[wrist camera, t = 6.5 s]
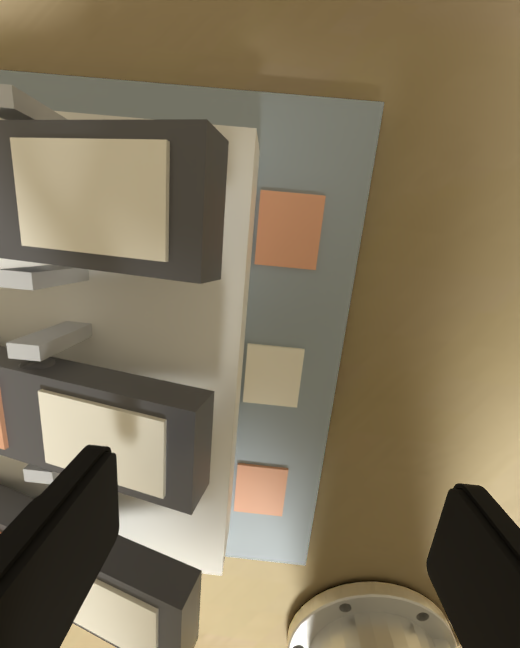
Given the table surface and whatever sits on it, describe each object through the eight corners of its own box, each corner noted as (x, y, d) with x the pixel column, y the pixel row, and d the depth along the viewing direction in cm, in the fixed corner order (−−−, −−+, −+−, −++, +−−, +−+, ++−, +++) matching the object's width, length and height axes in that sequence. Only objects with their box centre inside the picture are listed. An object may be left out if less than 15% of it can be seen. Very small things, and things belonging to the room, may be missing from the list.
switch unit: (377, 111, 15) (471, -12, 8) (304, 551, 22) (318, 695, 15) (-100, 71, 15) (-421, -80, 8) (-19, 515, 22) (-152, 638, 15)
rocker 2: (214, 391, 11) (193, 415, 9) (209, 483, 12) (189, 519, 10) (-68, 331, 14) (-121, 341, 12) (-53, 408, 15) (-100, 427, 13)
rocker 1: (228, 141, 9) (204, 116, 7) (220, 279, 10) (198, 284, 8) (-107, 136, 12) (-176, 118, 10) (-86, 241, 13) (-146, 240, 11)
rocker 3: (201, 570, 12) (179, 615, 11) (198, 637, 13) (177, 687, 12) (-31, 471, 16) (-71, 493, 15) (-20, 529, 17) (-57, 556, 16)
